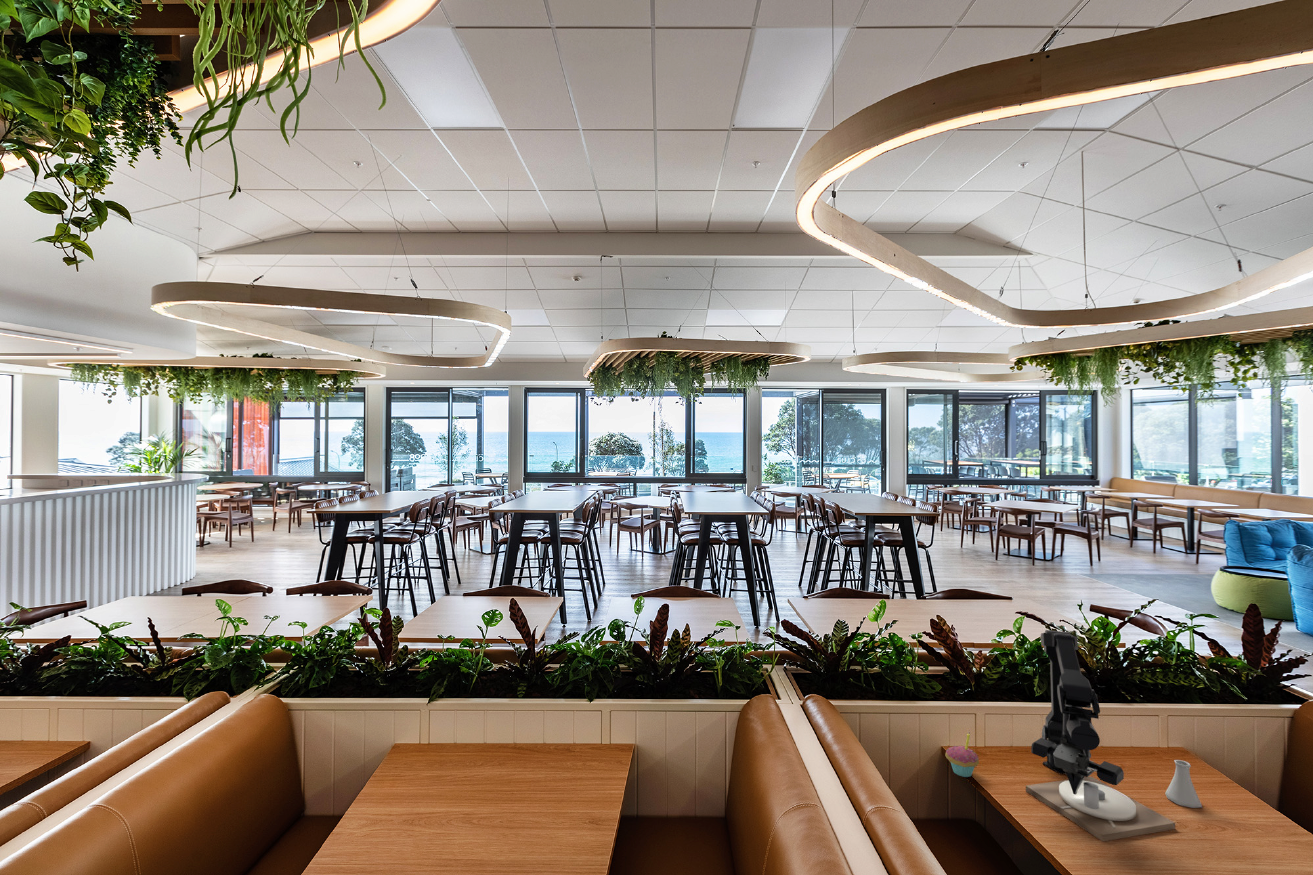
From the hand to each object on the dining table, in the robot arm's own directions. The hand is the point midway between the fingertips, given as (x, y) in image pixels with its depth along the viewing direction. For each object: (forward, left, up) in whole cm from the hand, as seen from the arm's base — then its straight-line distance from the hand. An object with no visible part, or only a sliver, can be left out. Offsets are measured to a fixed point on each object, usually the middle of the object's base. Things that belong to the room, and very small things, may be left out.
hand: (1075, 793), depth 153 cm
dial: (0, +7, -3) cm, 7 cm away
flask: (+2, +33, -5) cm, 33 cm away
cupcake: (-23, -14, -5) cm, 28 cm away
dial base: (0, +7, -5) cm, 8 cm away
